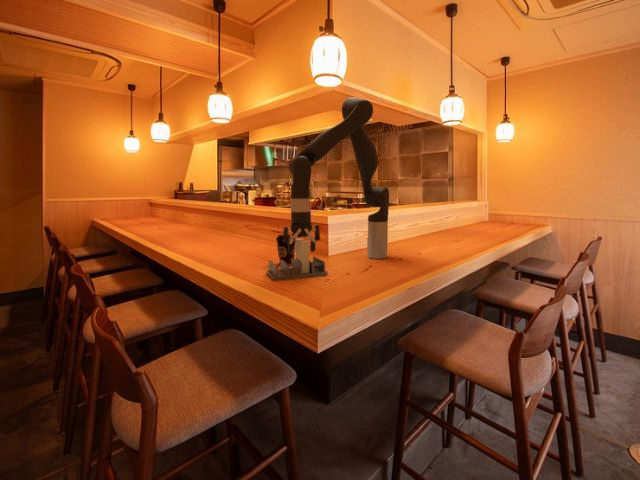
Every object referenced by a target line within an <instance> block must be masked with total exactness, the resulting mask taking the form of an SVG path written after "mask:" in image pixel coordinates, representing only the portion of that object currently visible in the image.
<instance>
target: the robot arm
mask: <svg viewBox="0 0 640 480" xmlns="http://www.w3.org/2000/svg"><path fill="white" fill-rule="evenodd" d="M373 113H374V107H373V104H372V102H371V101H369V100H367V99H364V98H360V97H356V96H355V97H352V96H350V97H346V99H344V100H343V103H342V105H341V115H342V119H343V120H342V121H341V122H339V123H338V124H336V125H334V126H332V127H331V128H327V129H326V130H325V131H323V132H321V133H320V134H319V135H317V136H316V137H315V138H314V139H313V140H312V141H311V142H310V143H309V144H308V145H307V146H306V147H305V148H304V149H302V151H300V152H299V153H298V154H296V156H294V157H293V158H292V159H291V160H290V162H289V164H288V170H289V173H291V175H292V184H291V187H290V198H291V199H290V200H291V201H290V222H291V225H290V226H286V225H285V226H282V234H283V242H285V243H288V252H290V254H293V244H292V242H293V241H294V240H295V239H300V238H306V237H307V238H308V240H310V241H309V247H310V252H311V253H314V252H315V250H316V242H318V241H320V240H321V235H320V225H318V224H314V225H312V207H311V206H312V205H311V194H310V193H311V192H310V191H311V190H310V184H311V177H312V167H313V166H314V165H315V163H317V162H318V161H321V159H323V158H325V156H327V154H329V152H330V151H331V150H332V149H334V148H335V147H336V146H337V145H338V144H339V143H340V142H342V141H343V140H344V139H346V138H347V137H349V138H350V142H351V146H352V149H353V153H354V158H355V161H356V165H357V169H358V172H359V175H360V176H359V177H360V181H361V186H362V191H363V197H364V202H365V204H366V206H367V207H371V208H372V207H373V208H376V207H378V208H379V210H378V211H377V212H374V213H371V214H368V216H367V245H366V246H367V252H366V256H367V258H369V259H374V260H377V259H378V260H380V259H381V260H382V259H383V260H384V259H387V258H388V249H389V248H388V247H389V246H388V238H389V237H388V236H389V234H388V232H389V231H388V229H389V208H390V205H389V204H390V190H389V188H388V187H387V186H373V185H372V179H373V176H374V174H375V173H376V171H377V169H378V168H379V167H378V166H379V156H378V151H377V147H376V146H375V144H374V142H373V140H372V139H371V137H370V136H369V134H368V133H367V131H366V129H365V127H364V125H366V124H367V123H368V122H369V121H370V120H371V118H372V116H373ZM312 230H313V231H314V235H312V233H311V231H312ZM290 231H291V232H292V233H291V234H290V235H291V236H290V238H289V240H287V239H288V235H289V233H290Z"/></svg>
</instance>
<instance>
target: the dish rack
mask: <svg viewBox="0 0 640 480" xmlns="http://www.w3.org/2000/svg"><path fill="white" fill-rule="evenodd" d="M291 261H292V265H289V264H288V263H286V262H285V261H284V260H282V259H279V263H280V264H279V265H280V267H279V268H278V265H277V264H276V263H275V262H273V261H272V260H271V259H268V269H267V270H266V274H267V275H268V277H270V279H271V280H272V279H273V280H272V281H275V280H276V281H282V280H293V279H301V278H302V279H303V278H311V277H321V276H329V275H328V271H327V270H326V261H325V260H323V259H320V258H319V257H316V256H315V255H313V256H312V260H309V273H302V264H301V263H300V262H298V261H297V260H296V258H294V259H293V258H291Z"/></svg>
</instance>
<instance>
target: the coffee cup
mask: <svg viewBox="0 0 640 480" xmlns="http://www.w3.org/2000/svg"><path fill="white" fill-rule="evenodd" d="M290 236H291V234H288V239H287V240H289V238H290ZM275 240H276V243H277V244H276V246H277V255H278V259H279V260H280V259H282V260H284V261H285V262H286V263H288V264H289V265H290V266H292V261H291V258H293V259H295V253H296V250H295V240H294V241H293V242H292V244H293V254H290V252H288V243H285V242H283V233H282V234H277V237H276V239H275ZM278 263H279V265H280V262H278Z"/></svg>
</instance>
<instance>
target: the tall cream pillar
mask: <svg viewBox="0 0 640 480" xmlns="http://www.w3.org/2000/svg"><path fill="white" fill-rule="evenodd" d="M295 260H297V261H298V262H300V263H301V264H302V273H309V261H310V241H309V240H307V239H304V238H296V239H295Z"/></svg>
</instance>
